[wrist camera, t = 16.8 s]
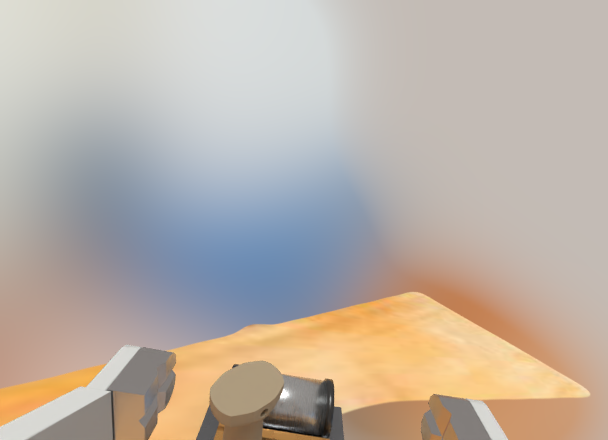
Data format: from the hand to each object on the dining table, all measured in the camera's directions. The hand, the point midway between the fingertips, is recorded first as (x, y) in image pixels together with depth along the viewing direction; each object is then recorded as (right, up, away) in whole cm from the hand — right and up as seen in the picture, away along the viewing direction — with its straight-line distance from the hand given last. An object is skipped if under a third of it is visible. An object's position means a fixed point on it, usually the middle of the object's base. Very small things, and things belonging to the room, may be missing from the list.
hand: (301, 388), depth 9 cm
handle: (-7, -23, +20) cm, 32 cm away
